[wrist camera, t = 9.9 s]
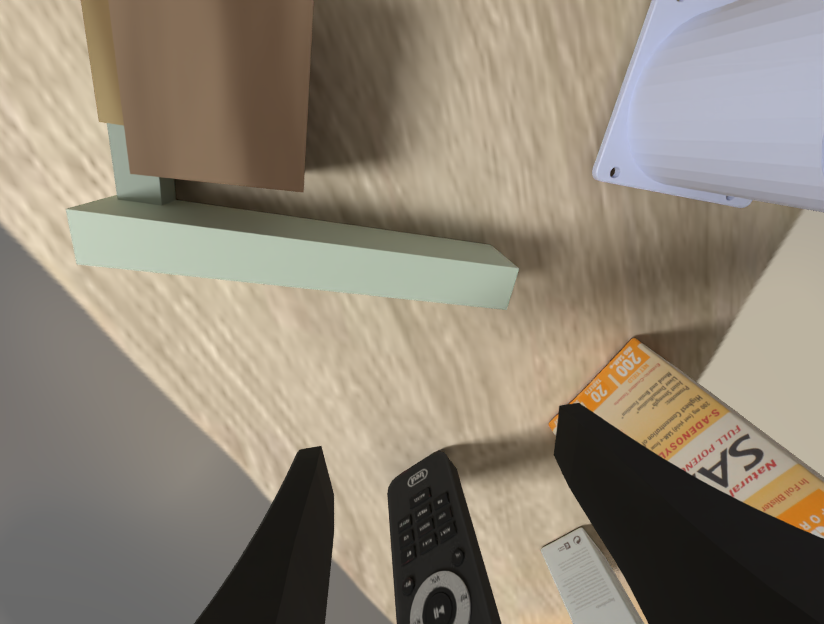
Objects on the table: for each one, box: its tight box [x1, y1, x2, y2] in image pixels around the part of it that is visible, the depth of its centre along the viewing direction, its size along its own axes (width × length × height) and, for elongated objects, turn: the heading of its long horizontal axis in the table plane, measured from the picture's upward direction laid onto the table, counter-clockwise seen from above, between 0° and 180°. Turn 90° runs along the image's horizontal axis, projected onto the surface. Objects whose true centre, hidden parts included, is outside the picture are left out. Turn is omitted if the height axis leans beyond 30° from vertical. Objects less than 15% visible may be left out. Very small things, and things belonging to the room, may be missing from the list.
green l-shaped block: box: [66, 123, 519, 310], centre depth 16 cm, size 17×8×4 cm, turn 80°
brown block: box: [81, 0, 314, 192], centre depth 13 cm, size 4×6×6 cm
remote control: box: [387, 451, 501, 624], centre depth 19 cm, size 5×2×15 cm, turn 126°
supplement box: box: [549, 338, 824, 539], centre depth 20 cm, size 8×5×13 cm, turn 145°
